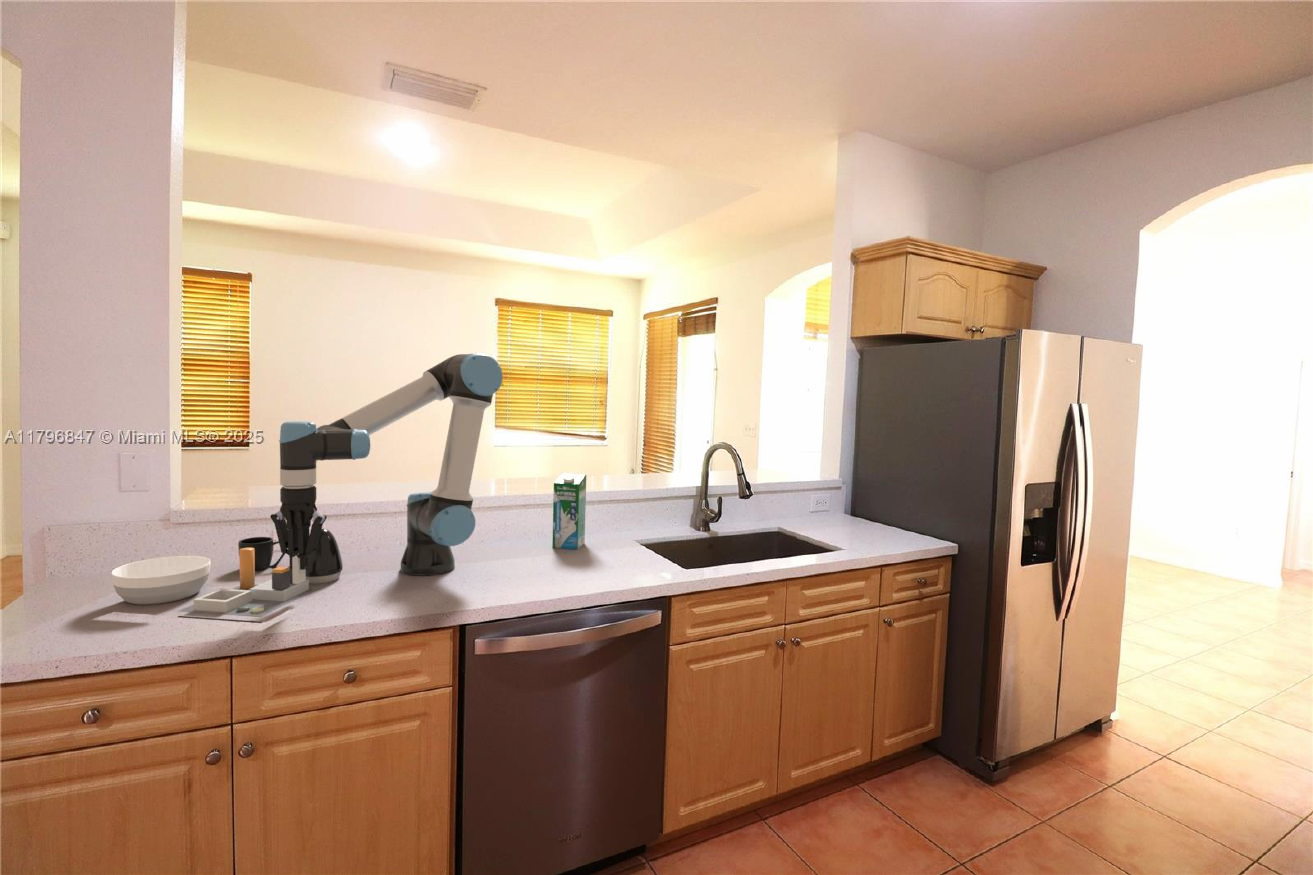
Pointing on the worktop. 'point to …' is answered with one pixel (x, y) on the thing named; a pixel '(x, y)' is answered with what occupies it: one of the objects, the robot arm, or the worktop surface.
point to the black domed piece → (324, 560)
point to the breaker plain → (290, 575)
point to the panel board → (247, 600)
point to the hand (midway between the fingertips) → (299, 582)
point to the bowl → (161, 579)
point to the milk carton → (569, 511)
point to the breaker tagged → (280, 578)
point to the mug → (261, 551)
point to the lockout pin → (247, 568)
